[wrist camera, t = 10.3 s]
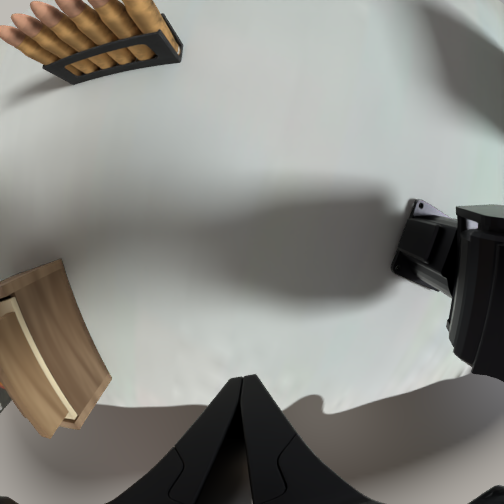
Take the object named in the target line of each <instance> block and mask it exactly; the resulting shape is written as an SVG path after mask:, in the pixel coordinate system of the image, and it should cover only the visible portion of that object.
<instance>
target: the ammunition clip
mask: <svg viewBox="0 0 504 504" xmlns="http://www.w3.org/2000/svg"><path fill="white" fill-rule="evenodd" d="M55 1H56V3H57V5H58V6H59V7H60V9H61V10H62V11H63V12H64V13H65V14H64V13H62V12H61V11H59V10H58V9H57V8H55V7H53V6H51V5H49V4H46V3H43V2H39V1H33V2H31V3H30V6H31V9H32V11H33V13H34V14H35V16H36V17H37V18H38V19H39V20H40V21H39V20H37V19H36V18H33V17H31V16H28V15H25V14H12V16H11V19H12V21H13V23H14V24H15V25H16V27H17V28H18V29H17V28H15V27H11V26H4V25H3V26H2V25H1V26H0V38H1V39H3V40H4V41H5V42H7V43H8V44H10V45H12V46H14V47H15V48H17V49H18V50H20V51H21V52H23V53H24V54H25V55H26V56H28V57H30V58H32V59H34V60H36V61H38V62H40V63H42V64H44V65H43V67H42V68H43V69H45V70H46V71H48V72H50V73H52V74H54V75H56V76H58V77H60V78H61V79H63V80H65V81H67V82H69V83H71V84H72V85H75V84H78V83H81V82H85V81H88V80H92V79H95V78H99V77H103V76H107V75H111V74H115V73H119V72H124V71H129V70H134V69H139V68H145V67H151V66H157V65H164V64H172V63H180V62H181V58H182V50H183V44H182V42H181V41H180V39H179V37H178V36H177V34H176V33H175V31H174V29H173V28H172V26H171V25H170V23H169V21H168V20H167V18H166V16H165V15H164V14H163V13H162V14H160V12H159V10H158V9H157V7H156V5H155V3H154V2H153V0H122V1H123V3H124V4H122V3H121V2H119V1H118V0H88V2H89V3H90V4H91V5H92V6H93V8H94V9H95V10H94V9H92V8H91V7H89V6H88V5H87V4H86V3H84V2H83V1H82V0H55ZM124 5H125V6H124ZM67 15H68V16H69V17H68V16H67Z"/></svg>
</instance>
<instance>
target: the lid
mask: <svg viewBox="0 0 504 504" xmlns="http://www.w3.org/2000/svg"><path fill="white" fill-rule="evenodd" d="M0 377H1V379H2V380H3V382H4V384H5V386H6V387H7V389H8V390H9V392H10V394H11V395H12V397H13V398H14V400H15V401H16V403H17V404H18V406H19V407H20V409H21V410H22V411H23V413H24V414H25V416H26V417H27V418H28V420H29V421H30V422H31V424H32V425H33V426H34V428H35V429H36V430H37V431H38V433H39V434H40V435H41V436H43V437H46V438H49V439H51V437H52V436H53V434H54V433H55V431H56V430H57V428H58V427H59V425H60V424H61V422H62V421H63V420H64V418H67V419H74V420H75V418H76V417H77V414H76V412H75V411H74V409H73V408H72V407H71V405H70V404H69V402H68V401H67V399H66V398H65V396H64V394H63V393H62V391H61V390H60V388H59V387H58V385H57V383H56V382H55V380H54V378H53V376H52V375H51V373H50V371H49V369H48V368H47V366H46V364H45V362H44V360H43V358H42V357H41V355H40V353H39V351H38V349H37V347H36V345H35V343H34V341H33V338H32V336H31V334H30V332H29V330H28V328H27V325H26V323H25V321H24V318H23V316H22V313H21V311H20V308H19V306H18V303H17V301H16V298H15V297H12V298H9V299H5V300H2V301H0Z"/></svg>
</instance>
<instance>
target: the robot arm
mask: <svg viewBox="0 0 504 504" xmlns="http://www.w3.org/2000/svg"><path fill="white" fill-rule="evenodd" d="M419 204H421V207H420V208H419ZM456 215H457V219H452V218H450V217H449V216H447V215H446V214H444V213H443V212H441V211H440V210H438V209H436V208H435V207H433V206H432V205H430V204H428V203H427V202H425V201H423V200H420V199H418V200H416V201H415V203H414V206H413V209H412V212H411V215H410V218H409V219H408V221H407V224H406V226H405V229H404V232H403V235H402V237H401V240H400V243H399V245H398V250H397V253H396V255H395V258H394V260H393V262H392V265H391V270H392V272H394V273H395V274H397V275H400V276H402V277H405V278H407V279H409V280H412V281H414V282H417V283H419V284H421V285H424V286H426V287H428V288H431V289H433V290H435V291H441V292H443V293H444V294H446V295H447V296H449V297H451V298H452V303H451V309H450V315H449V319H448V320H447V325H446V327H447V329H448V331H449V339H450V341H451V343H452V345H453V347H454V350H453V352H454V354H455V355H456V356H457V357H458V358H460V359H461V360H462V361H464V362H465V363H467V364H468V365H470V366H471V367H472V370H471V372H472V373H473V374H480V375H487V376H490V377H494V378H497V379H499V380H501V381H503V382H504V206H503V205H474V206H456ZM397 265H398V269H397V270H396V266H397ZM252 501H253V504H385V503H381V502H378V501H375V500H373V499H370V498H369V497H367V496H365V495H363V494H362V493H360V492H359V491H357V490H356V489H355V488H353V487H352V486H351V485H349V484H348V483H347V482H346V481H344V480H343V479H342V478H341V477H340V476H338V475H337V474H336V473H335V472H334V471H332V470H331V469H330V468H329V467H328V466H327V465H325V464H324V463H323V462H322V461H321V460H320V459H319V458H318V457H317V456H316V455H315V454H314V453H313V452H312V450H311V449H310V448H309V447H308V446H307V445H306V443H305V442H304V441H303V440H302V438H301V437H300V435H298V433H297V432H296V430H295V429H294V428H293V427H292V425H291V423H290V422H289V421H288V419H287V418H286V417H285V415H284V414H283V412H282V411H281V410H280V408H279V407H278V405H277V404H276V402H275V401H274V400H273V398H272V397H271V395H270V394H269V392H268V391H267V389H266V388H265V386H264V385H263V384H262V382H261V381H260V379H259V378H258V376H257V375H256V374H253V375H248V376H244V377H236V378H231V379H229V381H228V382H227V383H226V384H225V386H224V387H223V388H222V389H221V391H220V392H219V393H218V394H217V396H216V397H215V398H214V399H213V401H212V402H211V403H210V404H209V405H208V407H207V408H206V409H205V410H204V412H203V413H202V414H201V415H200V416H199V417H198V419H197V420H196V421H195V422H194V423H193V425H192V426H191V427H190V428H189V429H188V430H187V432H186V433H185V434H184V435H183V436H182V437H181V439H180V440H179V441H178V442H177V443H176V444H175V447H173V448H172V449H171V450H170V451H169V452H168V453H167V454H166V455H165V456H164V457H163V459H161V460H160V461H159V462H158V464H156V465H155V466H154V467H153V468H152V469H151V470H150V471H149V472H148V473H147V474H145V475H144V476H143V477H142V478H141V479H139V480H138V481H137V482H136V483H134V484H133V485H132V486H131V487H129V488H128V489H127V490H126V491H124V492H123V493H122V494H120V495H119V496H118V497H116V498H115V499H114V500H112V501H110V502H108V503H106V504H252ZM0 504H18V503H16V502H15V501H14V500H12V499H11V498H9V497H2V496H0ZM468 504H504V486H501V485H497V486H494V487H492V488H490V489H489V490H487V491H486V492H484V493H483V494H481V495H480V496H479V497H477V498H476V499H474V500H473V501H471V502H470V503H468Z"/></svg>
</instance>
